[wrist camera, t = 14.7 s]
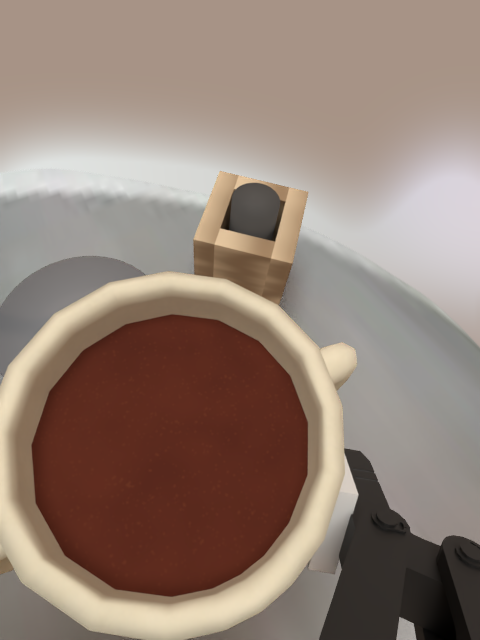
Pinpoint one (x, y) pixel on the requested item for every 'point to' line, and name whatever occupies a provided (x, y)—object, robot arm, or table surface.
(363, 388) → the table surface
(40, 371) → the character mug
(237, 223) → the dark grey tall cylinder
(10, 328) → the coaster
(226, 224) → the block
